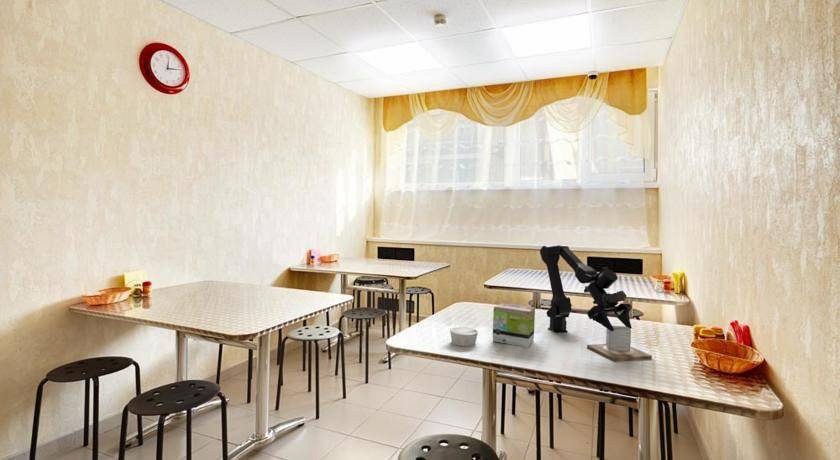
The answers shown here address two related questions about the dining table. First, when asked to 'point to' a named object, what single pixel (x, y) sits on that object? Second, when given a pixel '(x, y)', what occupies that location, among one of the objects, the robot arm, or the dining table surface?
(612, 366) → the dining table surface
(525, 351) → the dining table surface
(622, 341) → the medicine box
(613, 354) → the walnut board
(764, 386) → the dining table surface
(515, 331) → the tea box
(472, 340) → the ramekin
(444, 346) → the dining table surface
